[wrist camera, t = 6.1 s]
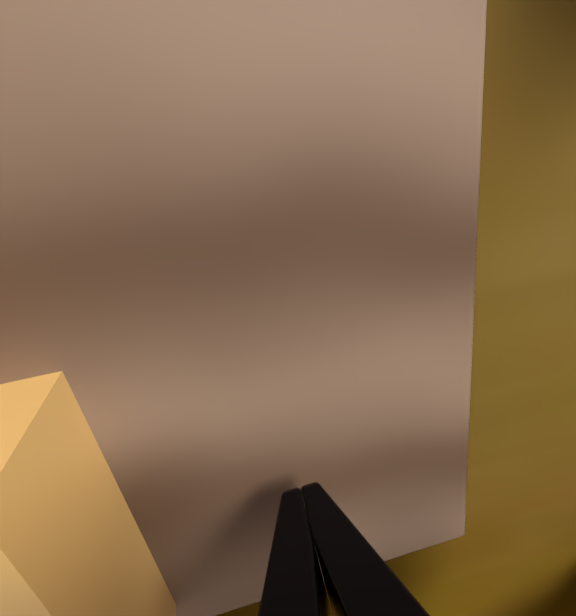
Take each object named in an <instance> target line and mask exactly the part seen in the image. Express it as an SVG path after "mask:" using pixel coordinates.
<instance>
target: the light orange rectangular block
mask: <svg viewBox="0 0 576 616" xmlns="http://www.w3.org/2000/svg"><path fill="white" fill-rule="evenodd" d="M0 616H176V604H175V601H174V599H173V597H172V595H171V593H170V591H169V589H168V587H167V585H166V583H165V581H164V579H163V577H162V575H161V573H160V571H159V569H158V567H157V565H156V562H155V560H154V558H153V556H152V554H151V552H150V550H149V548H148V546H147V544H146V542H145V540H144V538H143V536H142V534H141V532H140V530H139V528H138V526H137V523H136V521H135V519H134V517H133V515H132V513H131V511H130V509H129V507H128V505H127V503H126V501H125V499H124V497H123V495H122V493H121V491H120V489H119V487H118V485H117V482H116V480H115V478H114V476H113V474H112V472H111V470H110V468H109V466H108V464H107V462H106V460H105V458H104V456H103V454H102V452H101V450H100V448H99V446H98V443H97V441H96V439H95V437H94V435H93V433H92V431H91V429H90V427H89V425H88V423H87V421H86V419H85V417H84V415H83V413H82V411H81V409H80V407H79V404H78V402H77V400H76V398H75V396H74V394H73V392H72V390H71V388H70V386H69V384H68V382H67V380H66V378H65V376H64V374H63V372H62V371H60V372H55V373H51V374H46V375H41V376H37V377H32V378H27V379H23V380H18V381H14V382H9V383H4V384H0Z"/></svg>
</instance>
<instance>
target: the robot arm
mask: <svg viewBox="0 0 576 616" xmlns="http://www.w3.org/2000/svg"><path fill="white" fill-rule="evenodd" d="M306 512H307V513H306ZM307 516H308V517H307ZM308 520H309V521H308ZM309 524H310V525H309ZM318 559H319V560H318ZM319 563H320V564H319ZM320 567H321V568H320ZM321 571H322V572H321ZM322 575H323V576H322ZM323 579H324V580H323ZM324 583H325V584H324ZM325 586H326V589H325ZM326 590H327V593H328V596H329V599H330V602H331V605H332V608H333V611H334V613H335V616H430V615H429V614H428V613H427V612H426V611H425V609H424V608H423V607H422V606H421V605H420V603H419V602H418V601H417V600H416V599H415V597H414V596H413V595H412V594H411V593H410V591H409V590H408V589H407V588H406V587H405V585H404V584H403V583H402V582H401V581H400V579H399V578H398V577H397V576H396V575H395V573H394V572H393V571H392V570H391V569H390V567H389V566H388V565H387V564H386V563H385V561H384V560H383V559H382V558H381V557H380V556H379V554H378V553H377V552H376V551H375V550H374V548H373V547H372V546H371V545H370V544H369V542H368V541H367V540H366V539H365V538H364V536H363V535H362V534H361V533H360V532H359V530H358V529H357V528H356V527H355V526H354V524H353V523H352V522H351V521H350V520H349V518H348V517H347V516H346V515H345V514H344V512H343V511H342V510H341V509H340V508H339V506H338V505H337V504H336V503H335V502H334V500H333V499H332V498H331V497H330V496H329V494H328V493H327V492H326V491H325V490H324V488H323V487H322V486H321V485H320V484H319V483H318V482H313V483H310V484H306V485H303V486H302V487H301V490H300V488H297V487H296V488H293V489H290V490H286V491H284V492H283V493H282V495H281V500H280V505H279V510H278V515H277V520H276V525H275V531H274V536H273V541H272V546H271V551H270V556H269V561H268V567H267V572H266V577H265V582H264V587H263V592H262V597H261V603H260V608H259V613H258V616H330V611H329V604H328V599H327V593H326Z"/></svg>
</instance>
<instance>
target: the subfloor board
mask: <svg viewBox="0 0 576 616" xmlns="http://www.w3.org/2000/svg"><path fill="white" fill-rule="evenodd" d="M486 8H487V0H0V384H4V383H9V382H14V381H18V380H23V379H27V378H32V377H37V376H41V375H46V374H51V373H55V372H60V371H62V372H63V374H64V376H65V378H66V380H67V382H68V384H69V386H70V388H71V390H72V392H73V394H74V396H75V398H76V400H77V402H78V404H79V407H80V409H81V411H82V413H83V415H84V417H85V419H86V421H87V423H88V425H89V427H90V429H91V431H92V433H93V435H94V437H95V439H96V441H97V443H98V446H99V448H100V450H101V452H102V454H103V456H104V458H105V460H106V462H107V464H108V466H109V468H110V470H111V472H112V474H113V476H114V478H115V480H116V482H117V485H118V487H119V489H120V491H121V493H122V495H123V497H124V499H125V501H126V503H127V505H128V507H129V509H130V511H131V513H132V515H133V517H134V519H135V521H136V523H137V526H138V528H139V530H140V532H141V534H142V536H143V538H144V540H145V542H146V544H147V546H148V548H149V550H150V552H151V554H152V556H153V558H154V560H155V562H156V565H157V567H158V569H159V571H160V573H161V575H162V577H163V579H164V581H165V583H166V585H167V587H168V589H169V591H170V593H171V595H172V597H173V599H174V601H175V604H176V616H216V615H219V614H222V613H225V612H229V611H232V610H235V609H238V608H241V607H244V606H247V605H250V604H253V603H256V602H259V601H261V597H262V592H263V587H264V582H265V577H266V572H267V567H268V561H269V556H270V551H271V546H272V541H273V536H274V531H275V525H276V520H277V515H278V510H279V505H280V500H281V495H282V493H283V492H284V491H286V490H290V489H293V488H296V487H297V488H300V490H301V487H302V486H303V485H306V484H310V483H313V482H318V483H319V484H320V485H321V486H322V487H323V488H324V490H325V491H326V492H327V493H328V494H329V496H330V497H331V498H332V499H333V500H334V502H335V503H336V504H337V505H338V506H339V508H340V509H341V510H342V511H343V512H344V514H345V515H346V516H347V517H348V518H349V520H350V521H351V522H352V523H353V524H354V526H355V527H356V528H357V529H358V530H359V532H360V533H361V534H362V535H363V536H364V538H365V539H366V540H367V541H368V542H369V544H370V545H371V546H372V547H373V548H374V550H375V551H376V552H377V553H378V554H379V556H380V557H381V558H382V559H383V560H384V561H386V560H390V559H393V558H396V557H399V556H402V555H405V554H408V553H411V552H414V551H417V550H421V549H424V548H427V547H430V546H433V545H436V544H439V543H442V542H445V541H448V540H451V539H455V538H458V537H461V536H464V531H465V507H466V483H467V459H468V436H469V412H470V388H471V364H472V340H473V317H474V293H475V269H476V245H477V222H478V198H479V174H480V150H481V127H482V103H483V79H484V55H485V31H486ZM306 513H307V512H306ZM307 517H308V516H307ZM308 521H309V520H308ZM309 525H310V524H309ZM318 560H319V559H318ZM319 564H320V563H319ZM320 568H321V567H320ZM321 572H322V571H321ZM322 576H323V575H322ZM323 580H324V579H323Z"/></svg>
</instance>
